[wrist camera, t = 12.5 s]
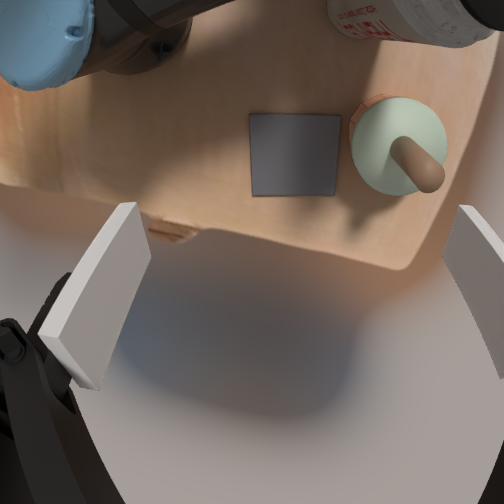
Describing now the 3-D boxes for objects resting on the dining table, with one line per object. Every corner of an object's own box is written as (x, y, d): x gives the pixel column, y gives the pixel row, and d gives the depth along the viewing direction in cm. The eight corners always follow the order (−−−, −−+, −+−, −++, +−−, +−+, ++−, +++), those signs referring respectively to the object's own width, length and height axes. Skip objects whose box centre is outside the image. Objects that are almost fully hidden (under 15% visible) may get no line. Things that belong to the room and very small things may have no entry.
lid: (346, 188, 40) (363, 229, 32) (354, 90, 32) (380, 108, 24) (431, 193, 39) (461, 231, 31) (448, 104, 31) (489, 127, 23)
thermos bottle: (357, 50, 32) (493, 87, 10) (313, 7, 29) (396, -47, 7) (398, 17, 29) (560, 27, 7) (355, -27, 26) (483, -92, 4)
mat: (252, 193, 46) (252, 195, 46) (249, 114, 39) (249, 115, 39) (333, 193, 46) (334, 195, 45) (339, 115, 38) (340, 116, 38)
